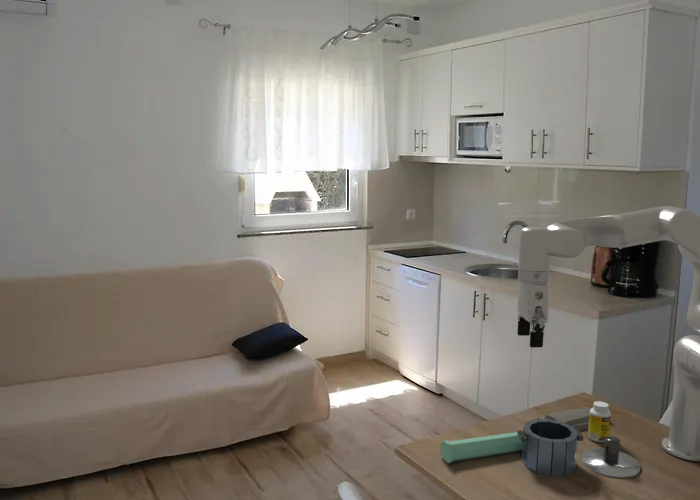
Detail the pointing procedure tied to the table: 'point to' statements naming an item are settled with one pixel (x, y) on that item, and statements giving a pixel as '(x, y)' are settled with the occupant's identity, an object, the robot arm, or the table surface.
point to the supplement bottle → (599, 422)
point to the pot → (549, 447)
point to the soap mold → (571, 417)
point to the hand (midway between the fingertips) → (529, 341)
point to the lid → (611, 460)
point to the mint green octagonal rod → (480, 447)
